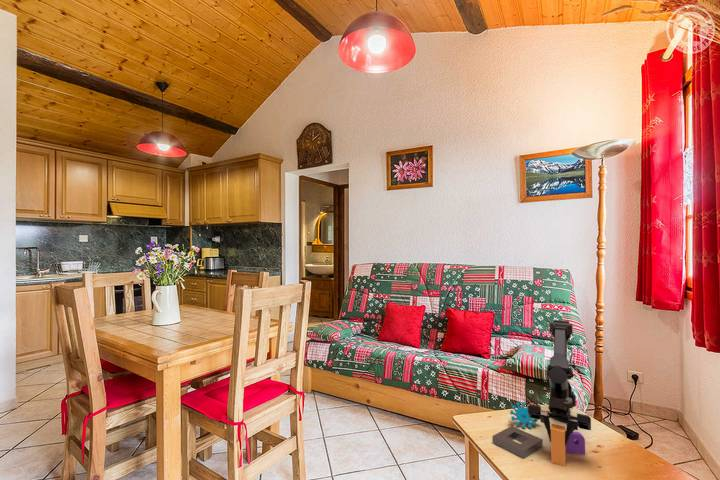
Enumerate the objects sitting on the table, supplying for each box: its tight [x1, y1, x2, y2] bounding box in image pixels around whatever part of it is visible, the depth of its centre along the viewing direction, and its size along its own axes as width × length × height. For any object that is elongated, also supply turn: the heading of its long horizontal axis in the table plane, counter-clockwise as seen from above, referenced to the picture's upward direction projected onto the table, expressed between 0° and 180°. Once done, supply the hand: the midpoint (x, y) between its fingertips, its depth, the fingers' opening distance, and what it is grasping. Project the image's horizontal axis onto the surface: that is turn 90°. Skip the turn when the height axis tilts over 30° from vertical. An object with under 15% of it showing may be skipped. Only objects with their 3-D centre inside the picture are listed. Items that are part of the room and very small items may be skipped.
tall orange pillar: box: [550, 423, 567, 467], centre depth 121 cm, size 4×4×11 cm
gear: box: [509, 401, 540, 430], centre depth 146 cm, size 11×6×10 cm
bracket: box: [565, 430, 586, 456], centre depth 131 cm, size 12×7×7 cm, turn 168°
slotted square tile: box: [491, 425, 544, 459], centre depth 131 cm, size 12×12×2 cm
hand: (557, 443), depth 120 cm, fingers closed on tall orange pillar, 4 cm apart
